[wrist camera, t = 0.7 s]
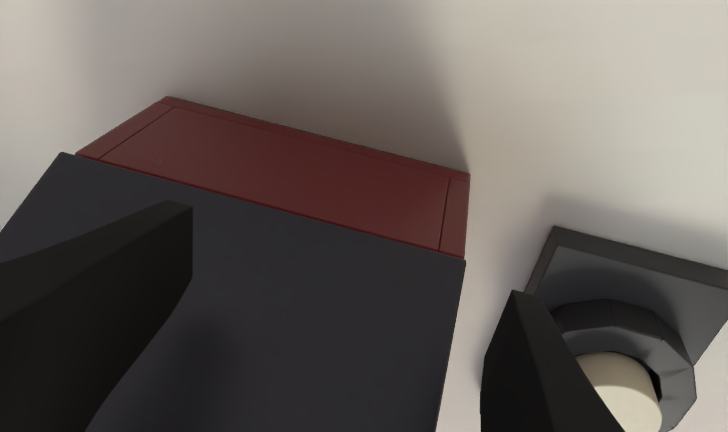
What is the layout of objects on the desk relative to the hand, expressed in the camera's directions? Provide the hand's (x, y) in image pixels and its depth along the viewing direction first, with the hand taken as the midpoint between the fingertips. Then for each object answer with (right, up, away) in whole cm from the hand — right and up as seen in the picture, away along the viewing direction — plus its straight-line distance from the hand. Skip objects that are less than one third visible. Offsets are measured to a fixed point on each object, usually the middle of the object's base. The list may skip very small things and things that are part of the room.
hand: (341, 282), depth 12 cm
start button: (+10, -5, +10) cm, 15 cm away
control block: (+10, -4, +12) cm, 16 cm away
